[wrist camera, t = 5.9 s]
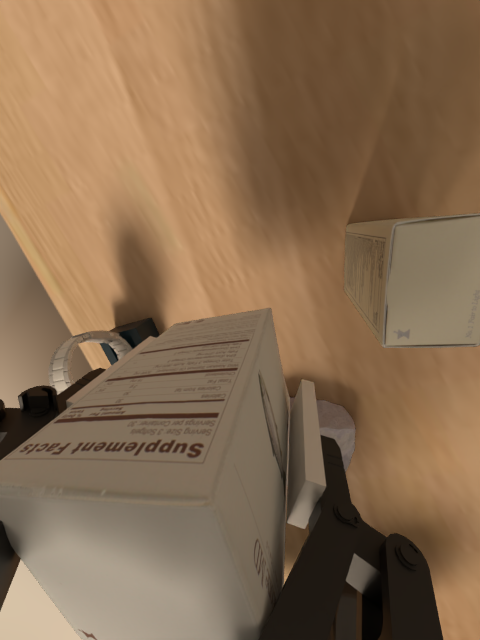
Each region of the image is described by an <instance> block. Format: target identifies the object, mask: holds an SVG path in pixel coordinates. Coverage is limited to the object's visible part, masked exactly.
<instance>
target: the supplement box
mask: <svg viewBox="0 0 480 640" xmlns="http://www.w3.org/2000/svg"><path fill="white" fill-rule="evenodd" d="M289 415H290V397H289V394H288V390H287V386H286V382H285V378H284V374H283V369H282V365H281V360H280V355H279V350H278V344H277V339H276V334H275V328H274V322H273V316H272V309H271V308H266V309H261V310H254V311H248V312H242V313H236V314H230V315H224V316H218V317H212V318H205V319H199V320H193V321H188V322H181V323H176V324H174V325H173V326H171V327H170V328H169V329H167V330H166V331H165V332H164V333H162V334H161V335H160V336H158V337H157V338H156V339H154V340H153V341H152V342H150V343H149V344H148V345H147V346H145V347H144V348H143V349H142V350H140V351H139V352H138V353H136V354H135V355H134V356H133V357H132V358H130V359H129V360H128V361H127V362H125V363H124V364H123V365H121V366H120V367H119V368H118V369H116V370H115V371H114V372H113V373H111V374H110V375H109V376H108V377H106V378H105V379H104V380H103V381H101V382H100V383H99V384H98V385H96V386H95V387H94V388H92V389H91V390H90V391H89V392H87V393H86V394H85V395H84V396H82V397H81V398H80V399H79V400H77V401H76V402H75V403H74V404H72V405H71V406H70V407H69V408H67V409H66V410H65V411H64V412H62V413H61V414H60V415H59V416H57V417H56V418H55V419H54V420H52V421H51V422H50V423H48V424H47V425H46V426H45V427H43V428H42V429H41V430H39V431H38V432H37V433H36V434H34V435H33V436H32V437H30V438H29V439H28V440H27V441H25V442H24V443H23V444H21V445H20V446H19V447H18V448H16V449H15V450H14V451H12V452H11V453H10V454H8V455H7V456H6V457H4V458H3V459H2V460H0V520H1V521H2V522H3V525H4V528H5V531H6V534H7V537H8V539H9V542H10V544H11V546H12V548H13V549H14V550H15V552H16V553H17V554H18V556H19V557H20V558H21V560H22V561H23V562H24V564H25V565H26V566H27V568H28V569H29V571H30V572H31V573H32V574H33V576H34V577H35V579H36V580H37V581H38V583H39V584H40V585H41V587H42V588H43V589H44V591H45V592H46V594H47V595H48V596H49V598H50V599H51V600H52V602H53V603H54V604H55V606H56V607H57V608H58V609H59V611H60V612H61V613H62V615H63V616H64V618H65V619H66V620H67V622H68V623H69V624H70V625H71V627H72V628H73V629H74V631H75V632H76V633H77V634H78V636H79V637H80V638H81V639H83V640H258V639H259V637H260V635H261V633H262V631H263V629H264V627H265V625H266V623H267V621H268V619H269V617H270V615H271V612H272V610H273V608H274V606H275V604H276V602H277V599H278V597H279V595H280V593H281V590H282V588H283V586H284V559H285V529H286V499H287V474H288V444H289Z"/></svg>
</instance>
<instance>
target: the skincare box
mask: <svg viewBox="0 0 480 640" xmlns="http://www.w3.org/2000/svg"><path fill="white" fill-rule="evenodd" d="M344 291H345V293H346V294H347V296H348V297H349V299H350V300H351V302H352V303H353V305H354V306H355V307H356V309H357V310H358V312H359V313H360V315H361V316H362V318H363V319H364V321H365V322H366V323H367V325H368V326H369V328H370V329H371V331H372V332H373V334H374V335H375V337H376V338H377V340H378V341H379V343H380V344H381V346H382V347H383V348H447V347H475V346H479V345H480V213H473V214H459V215H445V216H432V217H417V218H400V219H389V220H379V221H369V222H360V223H352V224H348V225H347V226H346V239H345V264H344Z"/></svg>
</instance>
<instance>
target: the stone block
mask: <svg viewBox="0 0 480 640" xmlns="http://www.w3.org/2000/svg"><path fill="white" fill-rule="evenodd" d="M294 399H295V397H290V411H291V408H292V405H293V402H294ZM316 403H317V412H318V420H319V429H320V435H323V436H326V437H330V438H333V439H335V441H336V442H337V444H338V446H339V447H340V449H341V454H342V461H343V464H344V469H345V472H346V470H347V468H348V466H349V464H350V461H351V458H352V454H353V452H354V449H355V442H354V441H355V430H356V428H355V424H354V421H353V418H352V417H351V416H350V414H349V413H348V412H347V411H346V409H345V408H344V407H343V406H340V405H337V404H334V403H331V402H329V401H325V400H316ZM289 422H290V415H289ZM288 455H289V444H288ZM287 486H288V474H287Z"/></svg>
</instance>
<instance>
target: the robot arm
mask: <svg viewBox="0 0 480 640" xmlns="http://www.w3.org/2000/svg"><path fill="white" fill-rule="evenodd" d="M154 339H156V338H155V337H152V336H150V337H148V338H147V339H146V340H144V341H143V342H142V343H140V344H139V345H138V346H137V347H135V348H134V349H133V350H131V351H130V352H129V353H127V354H126V355H125V356H124V357H122V358H121V359H120V360H118V361H117V362H116V363H114V364H113V365H112V366H111V367H109V368H108V369H107V370H106V369H102V368H98V369H96V370H93V371H91V372H89V373H88V374H86V375H85V376H83V377H82V379H79V380H78V381H77V382H76V383H75V384H72V385H71V386H70V387H68V388H67V389H65V390H64V391H63V392H61V393H60V394H58V395H57V391H56V389H55V388H53V387H51V386H36V387H33V388H30V389H28V390H26V391H24V392H22V393H21V394H20V395H19V396H18V399H19V404H20V408H5V405H4V403H3V401H2V400H1V399H0V460H2V459H3V458H4V457H6V456H7V455H8V454H10V453H11V452H12V451H14V450H15V449H16V448H18V447H19V446H20V445H21V444H23V443H24V442H25V441H27V440H28V439H29V438H30V437H32V436H33V435H34V434H36V433H37V432H38V431H39V430H41V429H42V428H43V427H45V426H46V425H47V424H48V423H50V422H51V421H52V420H54V419H55V418H56V417H57V416H59V415H60V414H61V413H62V412H64V411H65V410H66V409H67V408H69V407H70V406H71V405H72V404H74V403H75V402H76V401H77V400H79V399H80V398H81V397H82V396H84V395H85V394H86V393H87V392H89V391H90V390H91V389H92V388H94V387H95V386H96V385H98V384H99V383H100V382H101V381H103V380H104V379H105V378H106V377H108V376H109V375H110V374H111V373H113V372H114V371H115V370H116V369H118V368H119V367H120V366H121V365H123V364H124V363H125V362H127V361H128V360H129V359H130V358H132V357H133V356H134V355H135V354H136V353H138V352H139V351H140V350H142V349H143V348H144V347H145V346H147V345H148V344H149V343H150V342H152V341H153V340H154ZM308 522H309V535H308V537H307V539H306V541H305V543H304V545H303V547H302V549H301V551H300V554H299V556H298V558H297V560H296V562H295V564H294V566H293V568H292V570H291V572H290V574H289V576H288V578H287V580H286V582H285V584H284V586H283V588H282V590H281V593H280V595H279V597H278V599H277V602H276V604H275V606H274V608H273V610H272V612H271V615H270V617H269V619H268V621H267V623H266V625H265V627H264V629H263V631H262V633H261V635H260V637H259V639H258V640H443V636H442V631H441V626H440V621H439V616H438V611H437V606H436V600H435V595H434V590H433V585H432V580H431V575H430V570H429V567H428V564H427V561H426V559H425V558H424V556H423V555H422V553H421V551H420V550H419V549H418V548H417V547H416V546H415V545H414V544H413V542H411V541H410V540H408V539H407V538H406V537H404V536H402V535H399V534H390V535H389V536H388V537H385V536H384V535H382V534H381V533H379V532H378V531H376V530H375V529H373V528H372V527H370V526H369V525H368V524H367V523H365V522H364V521H363V520H362V519H361V517H360V514H359V512H358V511H357V509H356V508H355V506H354V505H353V504H352V502H351V499H350V494H349V489H348V484H347V479H346V474H345V469H344V464H343V461H342V454H341V449H340V447H339V446H338V444H337V442H336V441H335V439H333V438H330V437H326V436H323V435H320V429H319V420H318V412H317V403H316V395H315V386H314V382H311V381H308V380H304V379H301V382H300V385H299V388H298V391H297V394H296V396H295V399H294V402H293V405H292V408H291V411H290V422H289V455H288V488H287V521H286V523H288V524H291V525H294V526H297V527H300V528H302V529H305V528H306V526H307V524H308ZM20 559H21V558H20V557H19V556H18V554H17V553H16V552H15V550H14V549H13V548H12V546H11V544H10V542H9V539H8V537H7V534H6V531H5V528H4V525H3V522H2V521H1V520H0V610H1V608H2V605H3V602H4V600H5V598H6V595H7V593H8V590H9V587H10V585H11V582H12V579H13V577H14V575H15V572H16V570H17V567H18V565H19V562H20Z"/></svg>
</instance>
